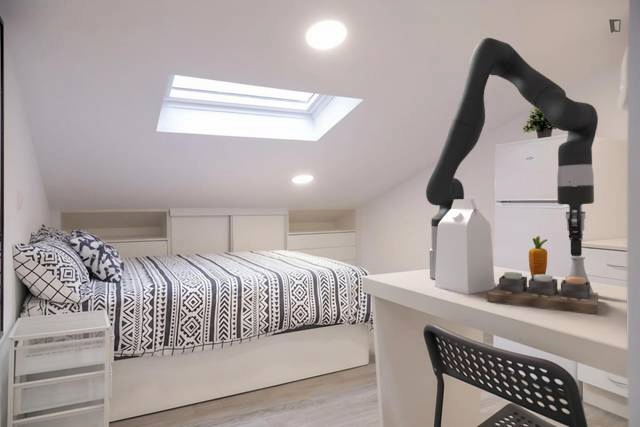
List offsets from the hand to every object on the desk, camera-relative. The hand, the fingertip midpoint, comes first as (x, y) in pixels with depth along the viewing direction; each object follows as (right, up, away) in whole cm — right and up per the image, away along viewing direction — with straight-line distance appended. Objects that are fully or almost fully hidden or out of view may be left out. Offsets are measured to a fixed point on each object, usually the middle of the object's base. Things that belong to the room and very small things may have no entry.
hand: (576, 255), depth 100 cm
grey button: (-6, -7, +4) cm, 10 cm away
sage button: (-12, -7, +8) cm, 16 cm away
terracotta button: (0, -7, 0) cm, 7 cm away
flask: (+7, -12, +10) cm, 17 cm away
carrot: (+1, -11, +19) cm, 22 cm away
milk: (-20, -12, +20) cm, 31 cm away
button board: (-7, -12, +3) cm, 14 cm away
